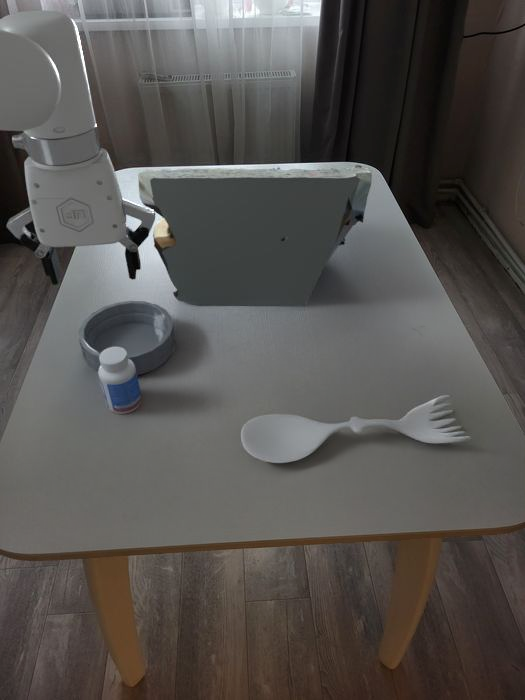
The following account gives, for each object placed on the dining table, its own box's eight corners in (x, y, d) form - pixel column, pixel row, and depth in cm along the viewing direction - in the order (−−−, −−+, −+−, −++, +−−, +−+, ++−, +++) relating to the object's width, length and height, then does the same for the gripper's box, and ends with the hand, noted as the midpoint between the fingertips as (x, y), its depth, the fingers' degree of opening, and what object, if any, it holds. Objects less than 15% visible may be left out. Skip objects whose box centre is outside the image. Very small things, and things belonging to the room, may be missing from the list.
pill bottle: (149, 398, 88) (140, 351, 81) (125, 420, 84) (114, 373, 78) (123, 385, 90) (112, 339, 83) (99, 406, 86) (86, 359, 80)
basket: (345, 227, 128) (351, 102, 110) (371, 308, 104) (383, 165, 86) (172, 240, 128) (150, 117, 110) (159, 323, 105) (127, 184, 87)
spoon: (467, 453, 79) (473, 437, 77) (244, 473, 77) (243, 457, 74) (445, 407, 86) (450, 391, 84) (238, 424, 83) (238, 408, 81)
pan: (102, 391, 89) (96, 371, 86) (72, 338, 99) (66, 318, 96) (190, 357, 95) (188, 337, 92) (154, 311, 105) (151, 291, 102)
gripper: (-28, 161, 57) (20, 298, 68) (143, 153, 59) (162, 288, 70) (-10, 135, 63) (32, 265, 74) (145, 128, 64) (163, 256, 75)
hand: (95, 276), depth 72 cm, fingers open, 9 cm apart
